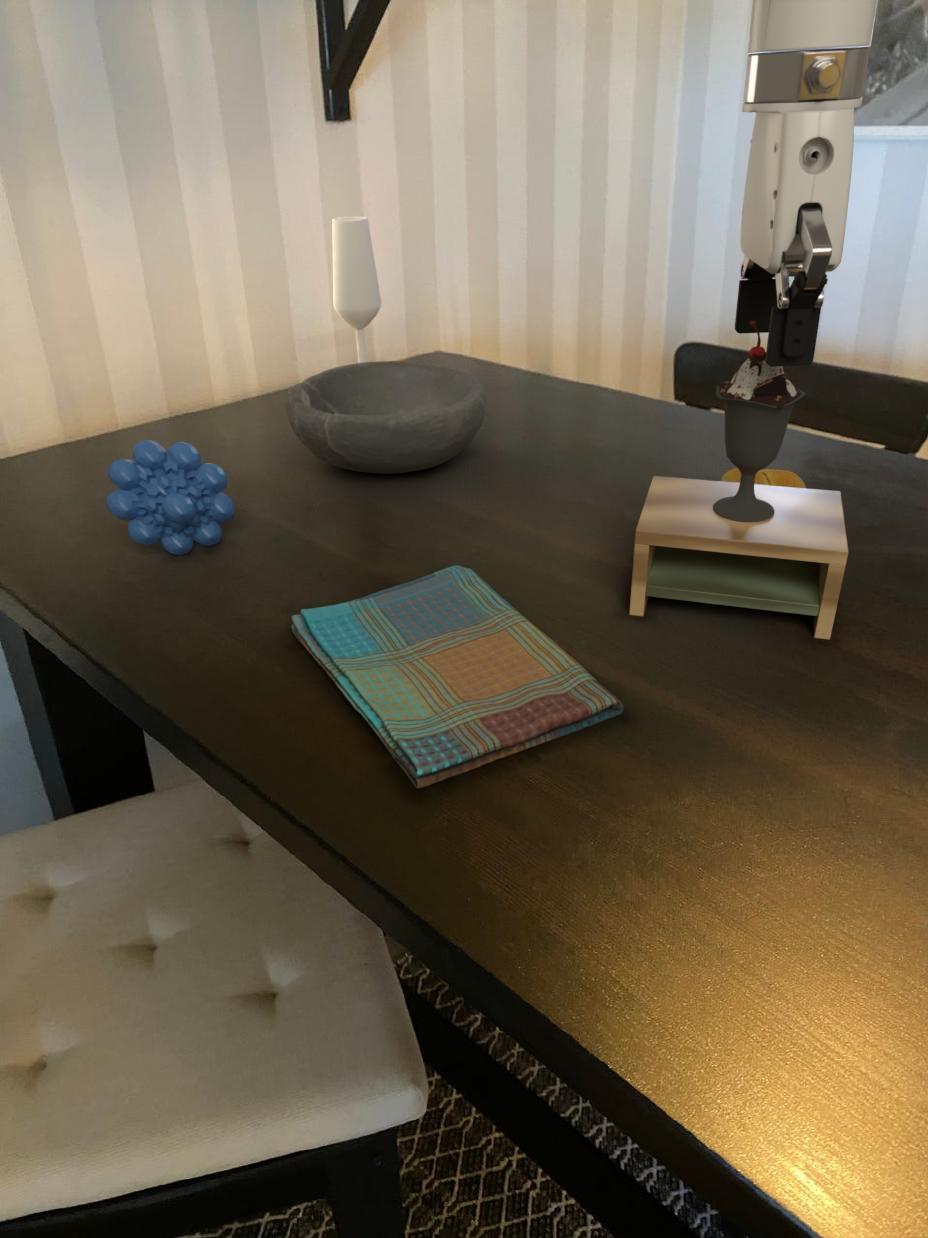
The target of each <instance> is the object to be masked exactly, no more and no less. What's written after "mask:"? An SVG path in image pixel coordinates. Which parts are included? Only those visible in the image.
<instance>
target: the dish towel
mask: <svg viewBox="0 0 928 1238" xmlns="http://www.w3.org/2000/svg"><path fill="white" fill-rule="evenodd" d="M291 621H292V623H291V625H290V629H291V631H292V634H293V635H294V636H295V638H296V639H297V640H298V641H299V643H300V644H301V645H302V646H303V647H304V648H305V650H306V651H307V652H308V653H309V654H310V656H312V657H313V659H314V660H315V662H317V664H318V665H319V666H320V667H322V669H323V670H324V671H325V672H326V674H327V675H328V676H329V678H330V679H331V680H332V681H333V683H334V684H335V686H336V687H337V688H338V689H339V690H340V691H341V693H342V694H343V695H344V697H345V698H346V699H347V701H349V703H350V705H352V707H353V709H354V710H355V711H357V712H358V713H359V714H360V715H361V716H362V718H363V719H364V720H365V721H366V722H367V724H368V725H369V726H370V728H371V729H372V731H373V732H374V733H375V735H376V736H377V738H378V739H379V740H380V742H381V743H382V744H383V745H384V747H385V748H386V750H387V751H388V752H389V754H390V755H391V756H392V758H393V759H394V760H395V762H396V763H397V764H398V766H399V767H400V768H401V770H402V771H403V772H404V773H405V775H406V777H408V779H409V780H410V782H411V783H412V784H413V786H414V788H415V789H417V790H419V789H422V788H423V789H424V788H427V787H429V786H431V785H433V784H437V783H439V782H443V781H444V780H447V779H450V778H451V777H456V776H458V775H461V774H464V773H467V772H469V771H472V770H475V769H478V768H480V767H482V766H485V765H487V764H489V763H492V762H495V761H497V760H500V759H504V758H506V757H509V756H511V755H514V754H517V753H521V752H523V751H525V750H527V749H528V750H529V749H531V748H535V747H537V746H540V745H543V744H545V743H548V742H550V741H554V740H556V739H559V738H561V737H565V736H568V735H570V734H572V733H575V732H579V731H582V730H583V729H586V728H589V727H593V726H594V725H596V724H599V723H600V724H601V723H603V722H604V721H605V722H606V721H607V720H610V719H613V718H616V717H617V716H620V715H622V714H623V713H624V705H623V703H622V701H621V700H620V699H619V698H618V697H616V696H615V695H614V694H613V693H612V692H611V691H609V690H608V688H606V687H605V686H603V685H602V684H601V682H599V681H598V680H597V679H596V678H595V677H594V676H593V675H592V674H591V673H590V672H589V671H588V670H586V668H584V666H583V665H581V664H580V663H579V662H578V661H577V660H576V659H574V658H573V657H572V656H570V655H569V654H568V653H567V652H566V651H565V650H564V649H562V648H561V646H559V644H557V643H556V642H555V641H554V640H553V639H551V638H550V637H549V636H547V634H546V633H545V632H543V631H542V630H540V628H539V627H538V626H536V625H534V623H533V622H531V621H530V620H528V619H527V618H526V617H525V616H524V615H523V614H521V612H519V611H518V610H517V609H516V608H514V607H513V606H512V605H511V604H510V603H509V602H508V601H507V600H506V599H504V598H503V597H502V595H500V594H499V593H498V592H497V591H496V590H494V589H493V588H492V586H491V585H489V583H487V581H485V580H484V579H483V578H482V577H481V576H480V575H478V574H477V573H476V572H475V571H474V570H473V569H472V568H469V567H464V566H461V565H458V564H457V565H451V566H448V567H445V568H443V569H441V570H438V571H435V572H433V573H430V574H428V575H424V576H422V577H419V578H417V579H414V580H411V581H408V582H405V583H401V584H398V585H395V586H392V587H388V588H385V589H381V590H379V591H376V592H374V593H371V594H368V595H366V596H362V597H360V598H356V599H353V600H348V601H345V602H344V601H343V602H341V603H336V604H333V605H325V606H319V607H313V608H302V609H301V610H300V614H299V613H298V614H293V615H291Z"/></svg>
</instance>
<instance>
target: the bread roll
mask: <svg viewBox="0 0 928 1238" xmlns="http://www.w3.org/2000/svg"><path fill="white" fill-rule="evenodd" d="M740 479H741V472H740V471H739V469H738V468H737V467H736V466H735V467H734V468H731V469H729V470H727V471H726V472H725V473H724V474H723V475H722V477H721V479H720V481H722V482H734V483H740ZM754 484H758V485H770V486H782V487H794V488H806V489H807V486H806V484H805V482H804V481H803V479H802V478H801V477H800V476H799V475H798V474H796V473H795V472H793V471H791V470H786V469H777V468H775V469H774V468H763V469H761V470H760V471H758V472H757V473H756V476H755V482H754Z"/></svg>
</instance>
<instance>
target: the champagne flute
mask: <svg viewBox="0 0 928 1238" xmlns="http://www.w3.org/2000/svg"><path fill="white" fill-rule="evenodd" d="M331 220H332V221H331V235H332V237H331V238H332V243H331V244H332V247H331V248H332V306H333V310H334V311H335V312H336V314H337V315H338V317H339V318H340V319H341V320H343V321H344V323H346V324H347V325H348V326H349V327H351V328H353V329H354V331H355V340H356V342H355V343H356V353H357V361H358V362H357V363H364V362H367V353H366V341H365V328H367V327H368V326H369V325H370V324H371V322H372V321H373V320H374V319H375V318H376V317H377V315H378V313H379V311H380V310H381V308H382V299H381V292H380V285H379V279H378V274H377V268H376V267H377V266H376V261H375V255H374V249H373V248H374V247H373V244H372V237H371V236H372V235H371V230H370V225H369V219H368V217H367V216H358V215H357V216H356V215H355V216H340V217H336V218H332V219H331Z"/></svg>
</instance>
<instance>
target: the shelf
mask: <svg viewBox="0 0 928 1238" xmlns="http://www.w3.org/2000/svg"><path fill="white" fill-rule="evenodd" d="M739 485H740V483H734V482H722V481H721V480H708V479H696V478H685V477H675V476H674V477H673V476H663V475H662V476H661V475H653V476H652V479H651V483H650V485H649V489H648V492H647V495H646V498H645V501H644V504H643V507H642V510H641V512H640V515H639V519H638V522H637V526H636V528H635V532H634V533H635V535H634V547H633V558H632V559H633V560H632V573H631V585H630V586H631V587H630V598H629V600H630V601H629V610H628V611H629V614H628V615H630V616H638V617H644V616H645V612H646V608H647V604H648V600H649V598H650V597H652V598H660V599H667V600H676V601H686V602H694V603H702V604H703V603H704V604H710V605H717V606H719V605H720V606H727V607H728V606H729V607H737V608H744V609H745V608H746V609H753V610H760V611H761V610H762V611H770V612H777V613H778V612H779V613H785V614H794V615H795V614H797V615H804V616H812V622H813V623H812V624H813V638H814V639H823V640H831V636H832V633H833V628H834V623H835V617H836V613H837V608H838V604H839V599H840V595H841V589H842V585H843V580H844V576H845V571H846V565H847V561H848V557H849V546H848V538H847V530H846V523H845V514H844V508H843V499H842V498H843V497H842V493H841V491H840V490H828V489H819V488H807V487H806V488H794V487H782V486H770V485H758V484H754V493H755V496H756V498H757V499H760V500H763V501H765V502H767V503H769V504H770V505H771V506H772V507H773V508H774V515H773V516H772V517H770V518H769V519H767V520H764V521H759V522H739V521H734V520H729V519H726V518H724V517H722V516H720V515H718V514H717V513H716V512H715V511H714V510H713V505H714V503H715V502H717V501H718V500H720V499H722V498H725V497H733V496H735V495H736V494H737V492H738V489H739Z"/></svg>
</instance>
